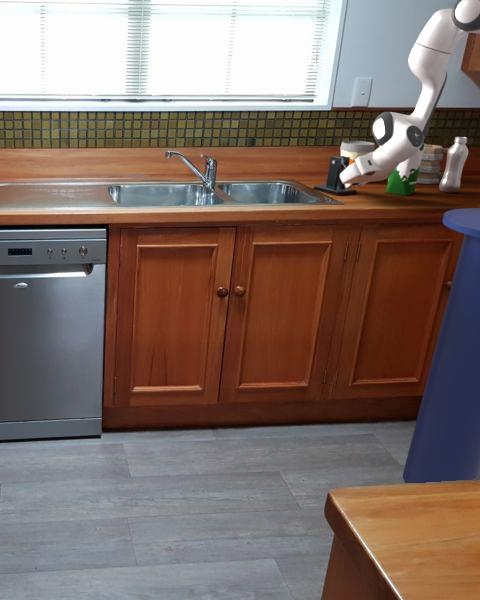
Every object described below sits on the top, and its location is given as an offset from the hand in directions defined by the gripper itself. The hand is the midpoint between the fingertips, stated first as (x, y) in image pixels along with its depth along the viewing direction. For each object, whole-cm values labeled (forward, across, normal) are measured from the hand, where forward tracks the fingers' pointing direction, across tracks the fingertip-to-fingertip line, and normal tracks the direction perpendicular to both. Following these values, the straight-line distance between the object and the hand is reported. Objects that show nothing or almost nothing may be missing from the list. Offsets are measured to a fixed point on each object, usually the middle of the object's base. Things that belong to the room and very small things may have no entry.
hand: (352, 185), depth 219 cm
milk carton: (0, -21, +5) cm, 22 cm away
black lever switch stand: (+8, 0, -2) cm, 8 cm away
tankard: (+8, -50, -2) cm, 51 cm away
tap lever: (+1, 0, -5) cm, 5 cm away
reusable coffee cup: (+18, -22, -11) cm, 30 cm away
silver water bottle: (-4, -39, +9) cm, 40 cm away
